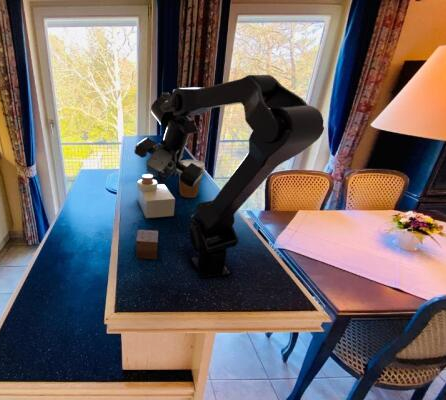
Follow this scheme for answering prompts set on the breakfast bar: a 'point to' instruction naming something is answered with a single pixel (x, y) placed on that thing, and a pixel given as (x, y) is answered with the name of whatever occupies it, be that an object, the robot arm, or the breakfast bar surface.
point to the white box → (155, 200)
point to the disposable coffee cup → (193, 191)
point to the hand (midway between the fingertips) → (160, 183)
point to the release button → (147, 179)
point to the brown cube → (146, 244)
